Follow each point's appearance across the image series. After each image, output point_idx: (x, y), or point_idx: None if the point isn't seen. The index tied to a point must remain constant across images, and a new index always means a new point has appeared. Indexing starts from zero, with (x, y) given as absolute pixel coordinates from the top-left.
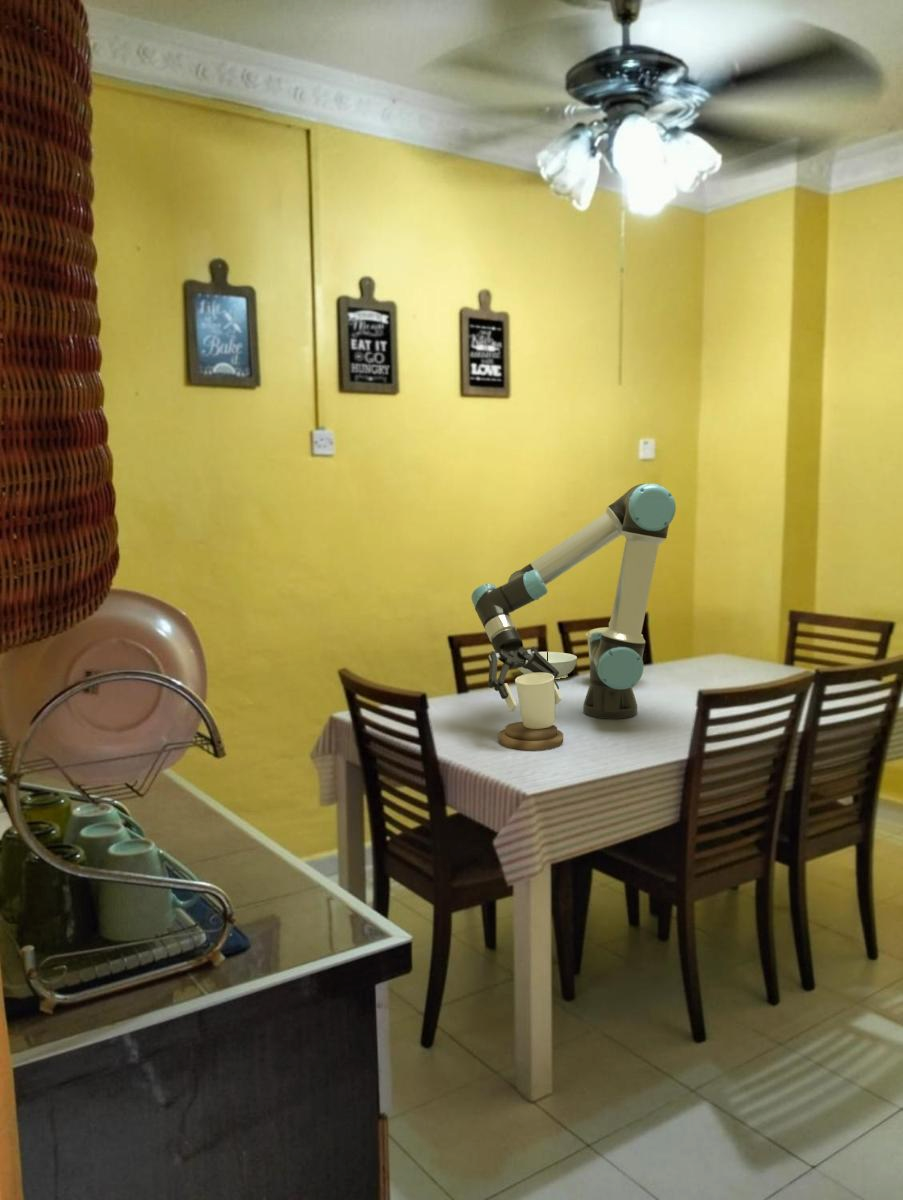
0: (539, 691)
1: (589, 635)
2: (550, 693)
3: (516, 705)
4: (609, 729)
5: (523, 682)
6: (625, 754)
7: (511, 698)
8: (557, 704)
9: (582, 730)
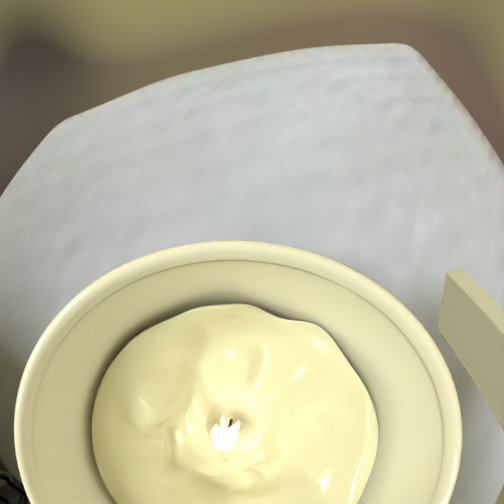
0: (278, 283)
1: None
2: (168, 305)
3: (448, 275)
4: (19, 383)
5: None
6: (106, 164)
7: (490, 297)
8: None
9: None
